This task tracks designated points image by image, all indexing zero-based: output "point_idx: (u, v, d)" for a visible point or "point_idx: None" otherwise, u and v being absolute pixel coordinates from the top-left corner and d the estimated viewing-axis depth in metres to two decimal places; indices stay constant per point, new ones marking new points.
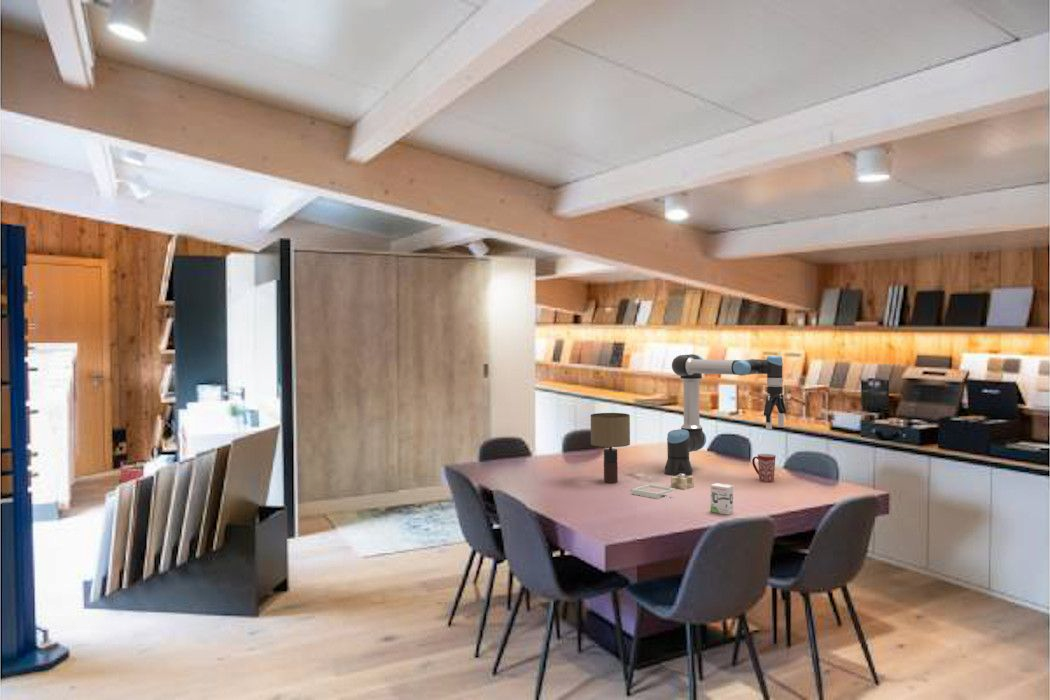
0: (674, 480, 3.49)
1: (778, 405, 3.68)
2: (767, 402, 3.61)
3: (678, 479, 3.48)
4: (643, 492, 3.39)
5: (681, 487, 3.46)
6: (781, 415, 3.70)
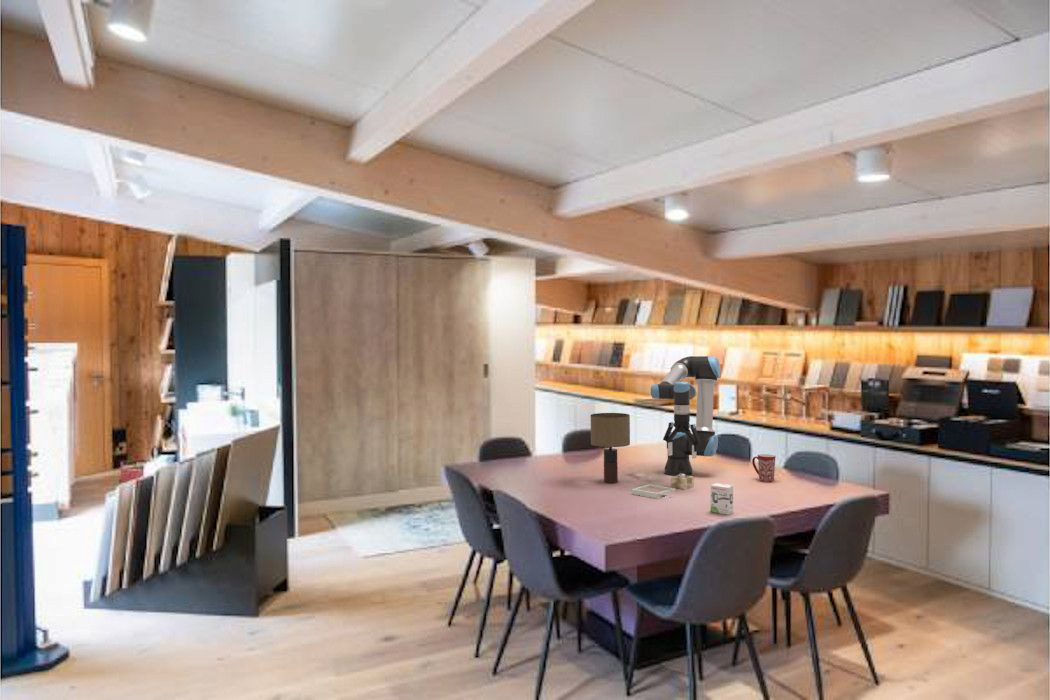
0: (674, 480, 3.49)
1: None
2: None
3: (678, 479, 3.48)
4: (643, 492, 3.39)
5: (681, 487, 3.46)
6: None
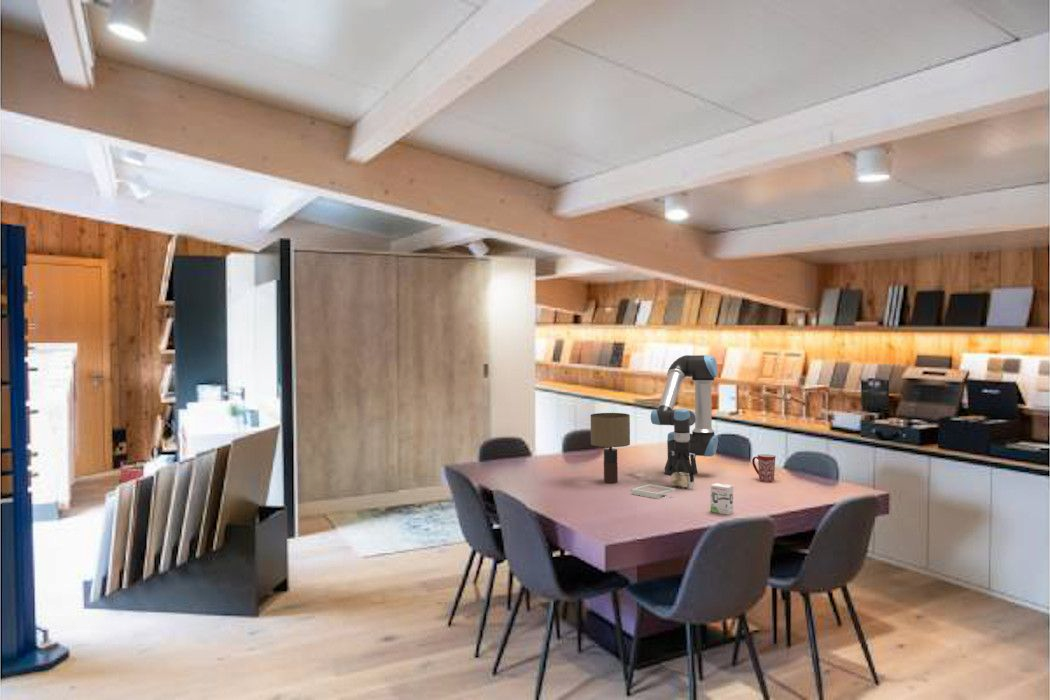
0: (674, 478, 3.49)
1: None
2: None
3: (678, 477, 3.48)
4: (643, 492, 3.39)
5: (681, 485, 3.47)
6: None
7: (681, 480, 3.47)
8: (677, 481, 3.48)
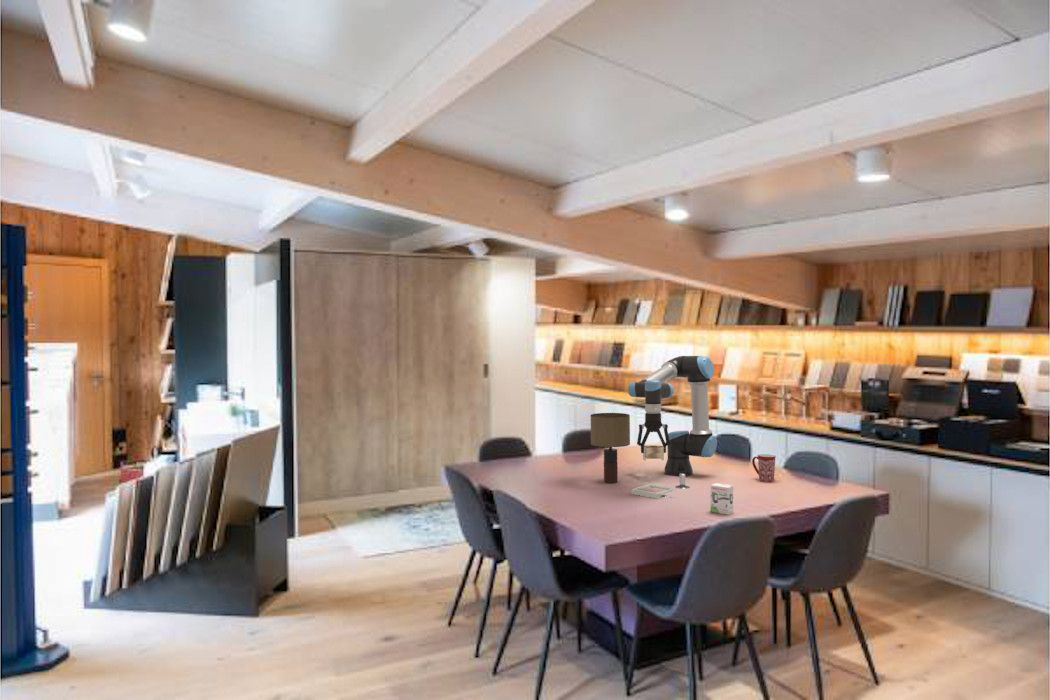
0: (650, 451, 3.39)
1: (658, 435, 3.43)
2: (639, 431, 3.43)
3: (655, 449, 3.39)
4: (643, 492, 3.39)
5: (659, 457, 3.39)
6: None
7: (658, 452, 3.39)
8: (654, 454, 3.39)
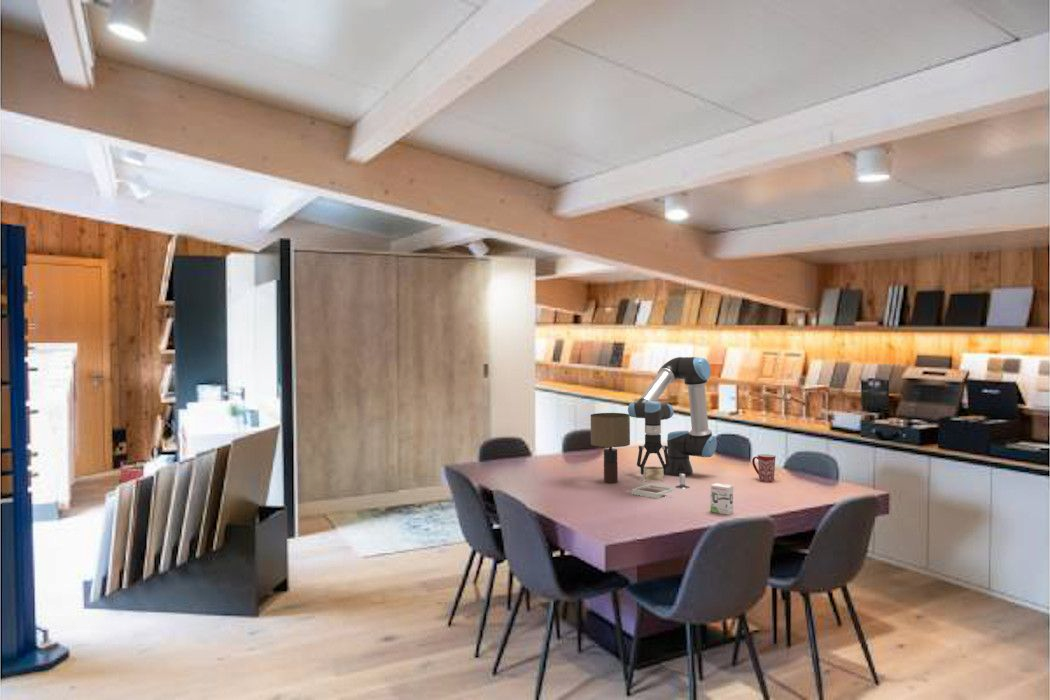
0: (650, 472, 3.39)
1: (658, 456, 3.43)
2: (639, 452, 3.43)
3: (655, 471, 3.39)
4: (643, 492, 3.39)
5: (658, 478, 3.40)
6: None
7: (658, 474, 3.39)
8: (653, 475, 3.39)
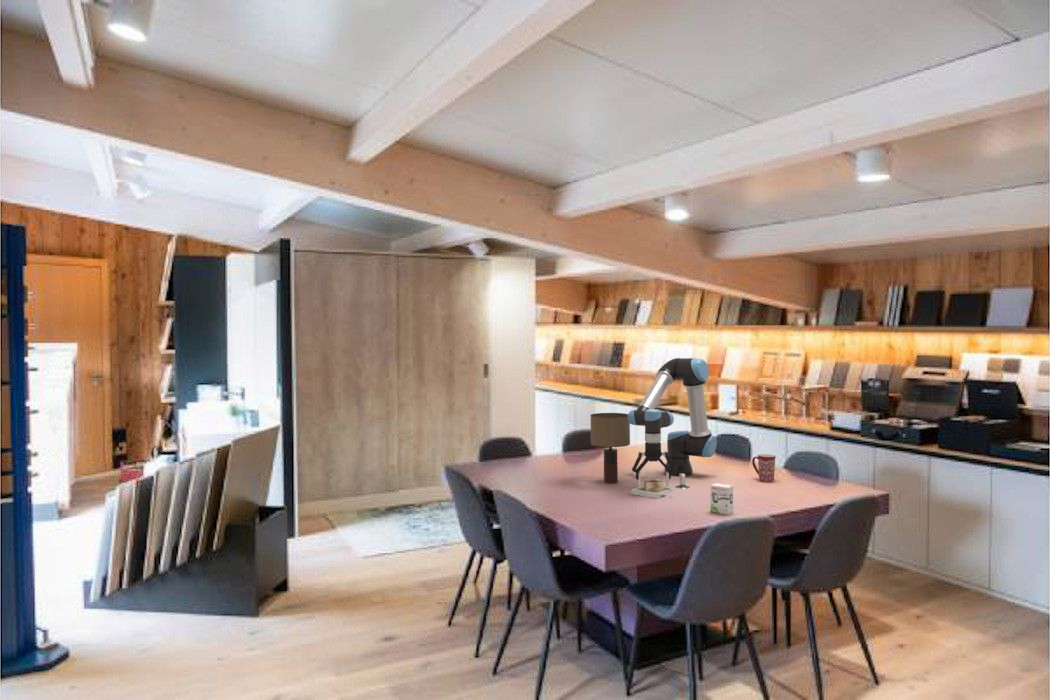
0: (650, 486, 3.40)
1: (661, 463, 3.43)
2: (637, 458, 3.44)
3: (655, 484, 3.40)
4: (643, 492, 3.39)
5: (659, 491, 3.40)
6: (666, 474, 3.43)
7: (658, 487, 3.40)
8: (654, 489, 3.40)
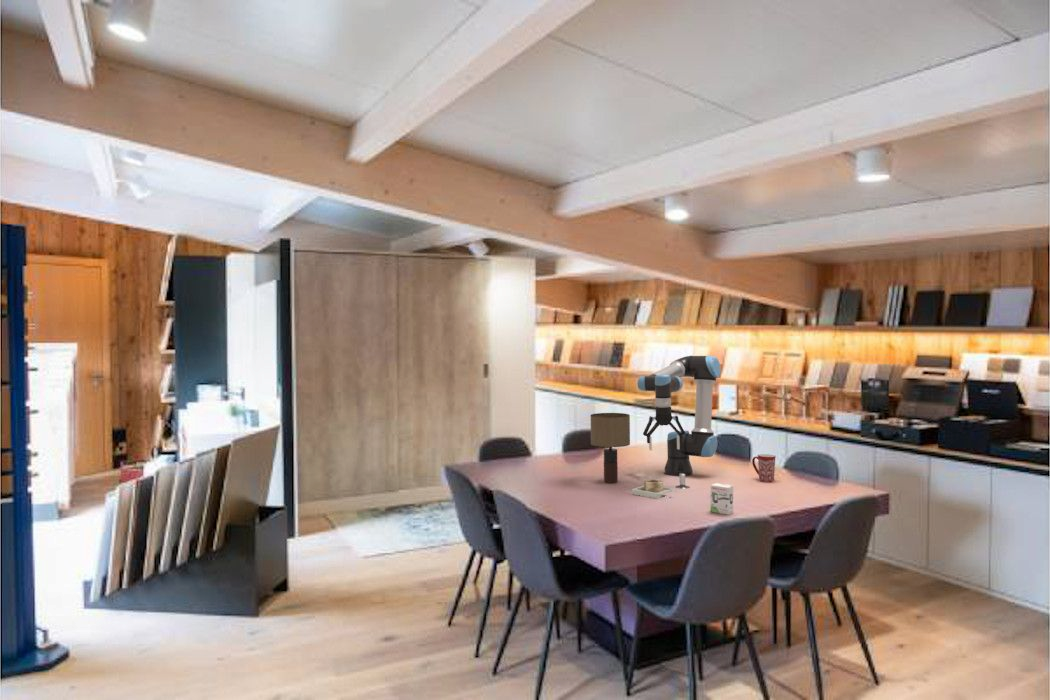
0: (650, 486, 3.40)
1: None
2: (648, 422, 3.50)
3: (655, 484, 3.40)
4: (643, 492, 3.39)
5: (659, 491, 3.40)
6: (677, 437, 3.49)
7: (658, 487, 3.40)
8: (654, 489, 3.40)
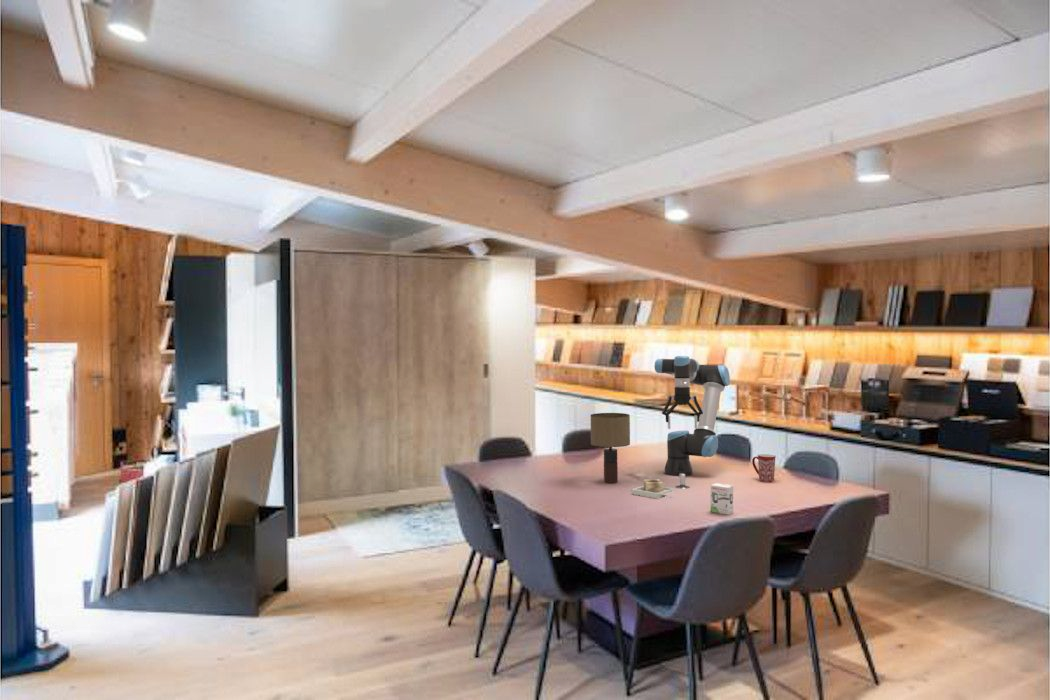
0: (650, 486, 3.40)
1: (689, 406, 3.61)
2: (667, 402, 3.61)
3: (655, 484, 3.40)
4: (643, 492, 3.39)
5: (659, 491, 3.40)
6: (695, 417, 3.61)
7: (658, 487, 3.40)
8: (654, 489, 3.40)
